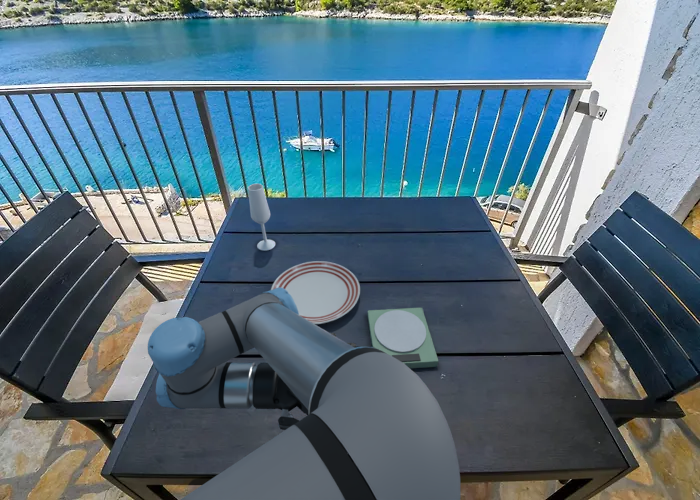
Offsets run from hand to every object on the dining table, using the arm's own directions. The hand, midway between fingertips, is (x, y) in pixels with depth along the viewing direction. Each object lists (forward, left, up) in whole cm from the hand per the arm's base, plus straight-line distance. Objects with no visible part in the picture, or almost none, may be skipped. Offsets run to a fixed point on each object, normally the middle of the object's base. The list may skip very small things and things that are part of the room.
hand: (376, 386), depth 62 cm
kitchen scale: (+15, -23, -21) cm, 35 cm away
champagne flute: (+76, -14, -22) cm, 80 cm away
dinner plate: (+43, -14, -22) cm, 50 cm away
